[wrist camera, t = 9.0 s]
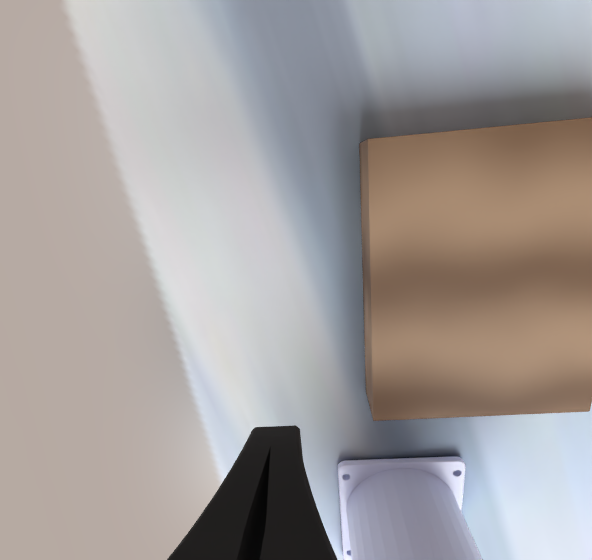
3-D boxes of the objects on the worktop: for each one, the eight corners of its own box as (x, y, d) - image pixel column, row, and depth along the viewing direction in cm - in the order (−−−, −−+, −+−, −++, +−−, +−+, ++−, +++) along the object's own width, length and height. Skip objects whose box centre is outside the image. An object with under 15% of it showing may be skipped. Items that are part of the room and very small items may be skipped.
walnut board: (555, 382, 20) (589, 411, 17) (365, 391, 20) (373, 421, 18) (601, 120, 15) (655, 111, 13) (359, 143, 16) (367, 139, 14)
